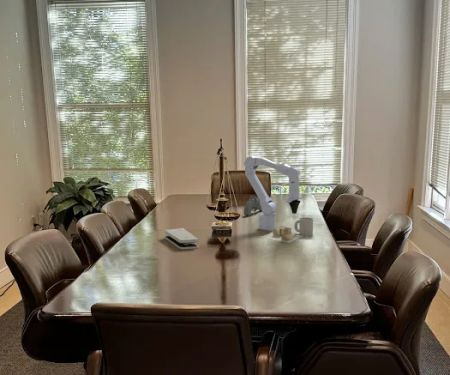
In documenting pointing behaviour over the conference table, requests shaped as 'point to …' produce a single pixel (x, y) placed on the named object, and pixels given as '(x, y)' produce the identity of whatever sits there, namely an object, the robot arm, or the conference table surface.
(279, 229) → the walnut block
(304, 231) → the cup
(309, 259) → the conference table surface
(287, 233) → the oak block
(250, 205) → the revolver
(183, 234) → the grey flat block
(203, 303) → the conference table surface
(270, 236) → the mat
